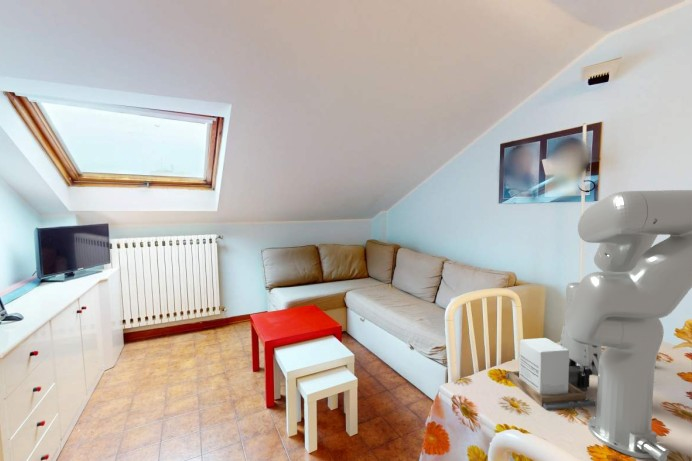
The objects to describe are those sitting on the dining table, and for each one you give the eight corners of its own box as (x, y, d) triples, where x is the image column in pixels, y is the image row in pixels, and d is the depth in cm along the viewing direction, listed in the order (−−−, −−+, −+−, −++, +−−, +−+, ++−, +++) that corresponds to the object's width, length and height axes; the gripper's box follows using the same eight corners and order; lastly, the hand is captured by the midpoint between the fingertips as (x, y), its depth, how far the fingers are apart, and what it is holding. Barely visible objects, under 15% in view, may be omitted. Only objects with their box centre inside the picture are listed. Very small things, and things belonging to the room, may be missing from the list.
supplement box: (544, 383, 94) (546, 337, 94) (568, 401, 85) (570, 349, 85) (517, 385, 93) (519, 338, 92) (539, 403, 84) (541, 351, 84)
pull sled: (604, 400, 85) (605, 380, 85) (541, 406, 83) (542, 385, 82) (564, 375, 99) (564, 357, 98) (508, 379, 96) (509, 361, 96)
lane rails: (595, 406, 83) (595, 401, 83) (546, 410, 81) (546, 405, 81) (548, 374, 100) (548, 370, 100) (506, 377, 98) (506, 373, 98)
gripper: (619, 334, 83) (615, 399, 84) (568, 314, 99) (565, 369, 100) (595, 336, 82) (592, 401, 83) (547, 315, 98) (545, 370, 99)
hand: (577, 383), depth 92 cm, fingers closed on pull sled, 3 cm apart
